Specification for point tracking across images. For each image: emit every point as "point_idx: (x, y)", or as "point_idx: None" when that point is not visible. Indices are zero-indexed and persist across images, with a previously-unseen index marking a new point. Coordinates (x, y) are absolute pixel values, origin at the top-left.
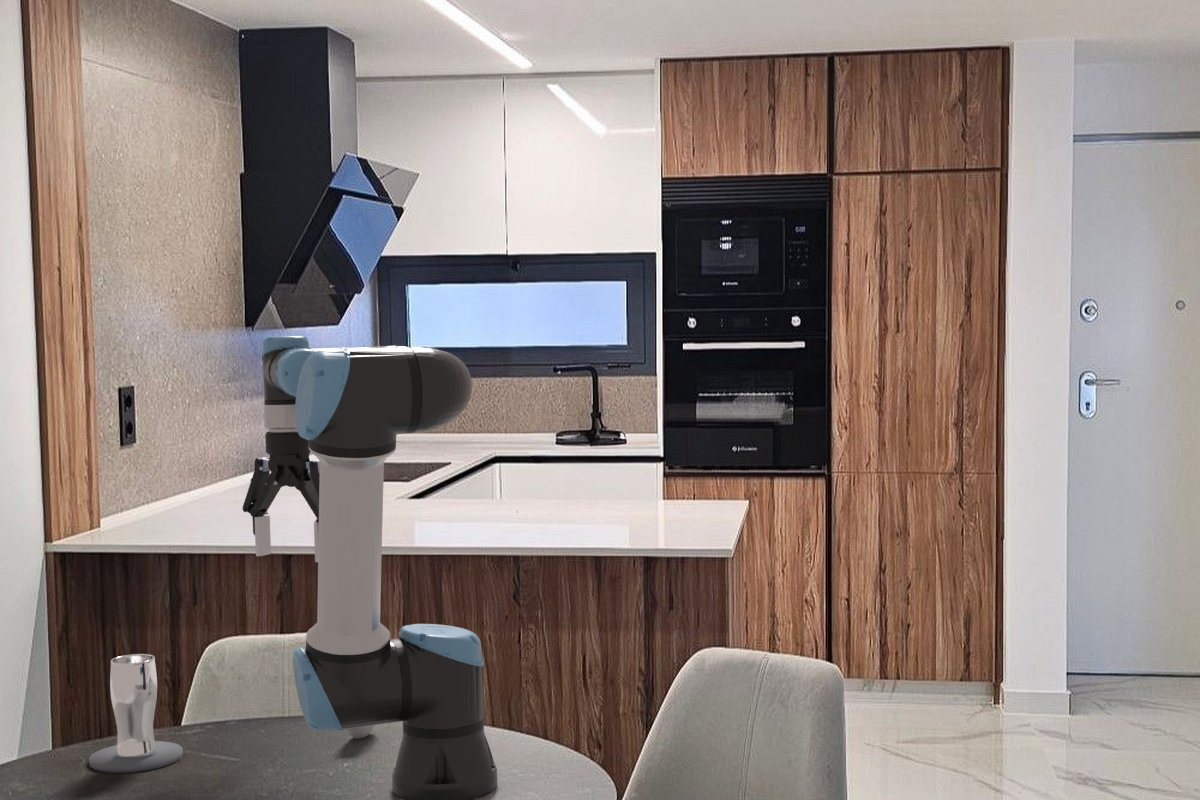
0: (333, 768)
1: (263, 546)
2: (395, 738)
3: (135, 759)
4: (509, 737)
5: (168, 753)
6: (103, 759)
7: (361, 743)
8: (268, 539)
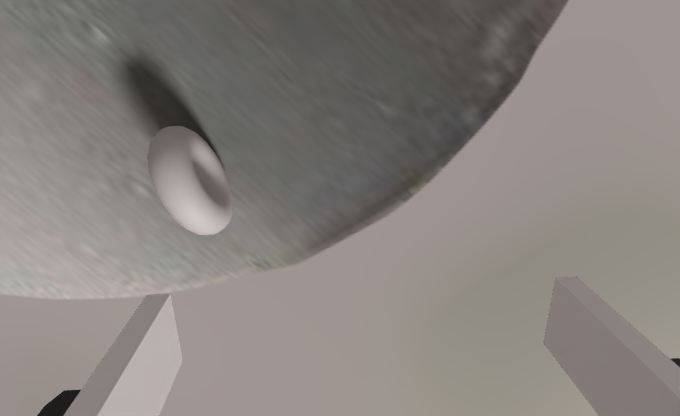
0: (95, 3)
1: (574, 331)
2: None
3: None
4: (21, 279)
5: None
6: None
7: None
8: (587, 385)
